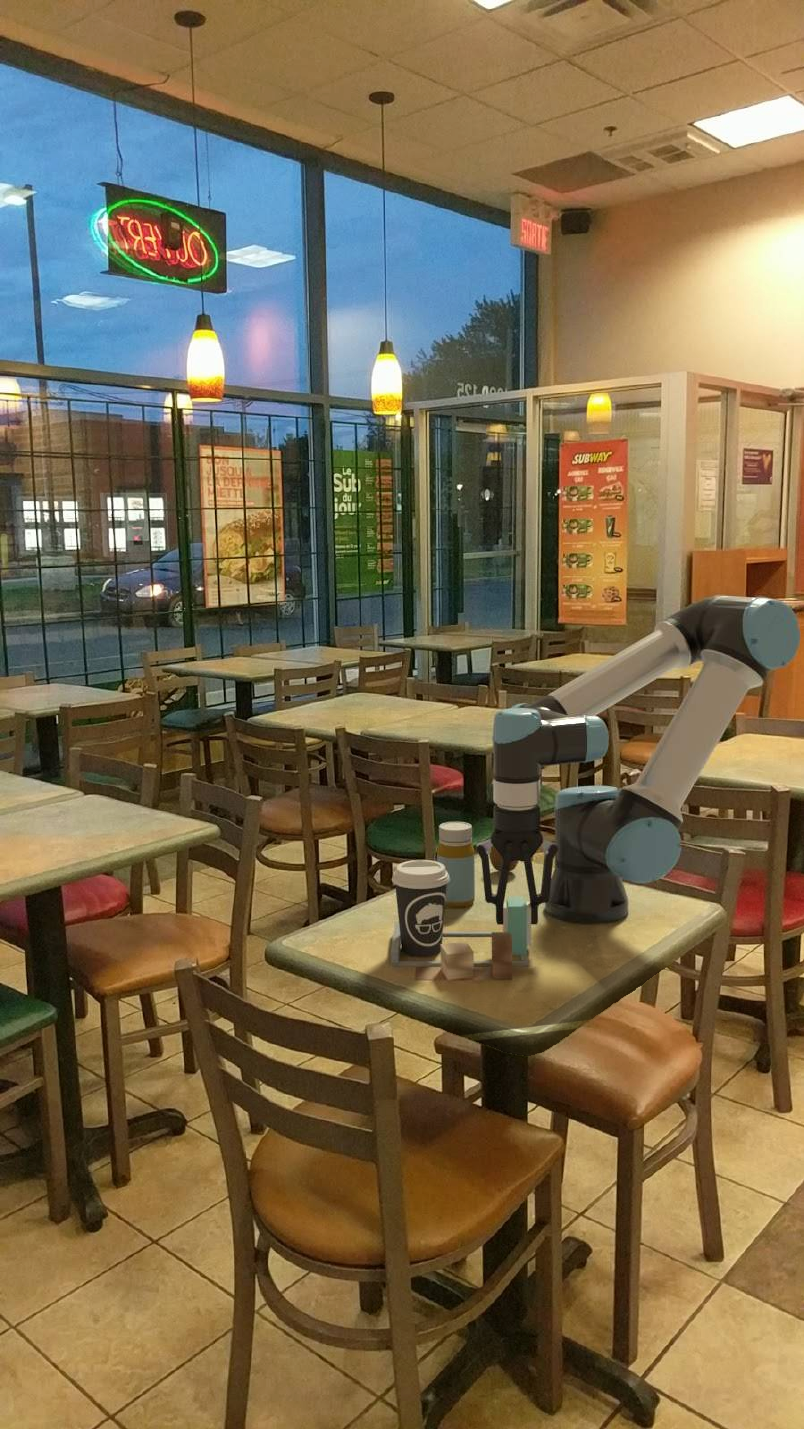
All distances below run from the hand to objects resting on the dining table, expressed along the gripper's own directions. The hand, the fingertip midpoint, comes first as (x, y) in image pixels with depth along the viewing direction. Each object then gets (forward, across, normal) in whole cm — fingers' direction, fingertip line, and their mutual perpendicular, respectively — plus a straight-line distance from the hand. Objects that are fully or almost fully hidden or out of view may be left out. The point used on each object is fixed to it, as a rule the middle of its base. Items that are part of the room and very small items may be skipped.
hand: (516, 942), depth 174 cm
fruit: (+2, 0, -43) cm, 43 cm away
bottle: (+2, +10, -25) cm, 27 cm away
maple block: (+1, +10, +10) cm, 14 cm away
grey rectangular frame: (+2, +10, 0) cm, 10 cm away
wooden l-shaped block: (+2, +9, +10) cm, 13 cm away
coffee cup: (+2, +16, 0) cm, 16 cm away
